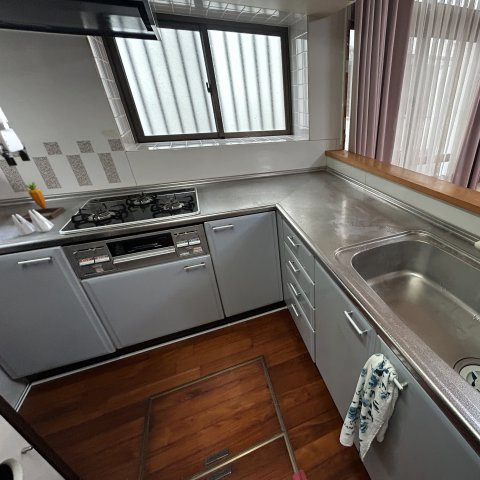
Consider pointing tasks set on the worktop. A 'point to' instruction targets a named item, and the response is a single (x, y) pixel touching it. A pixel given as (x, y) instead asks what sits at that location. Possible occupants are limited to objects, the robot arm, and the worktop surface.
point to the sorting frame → (55, 211)
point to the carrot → (37, 195)
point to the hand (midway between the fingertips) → (20, 163)
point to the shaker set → (38, 221)
